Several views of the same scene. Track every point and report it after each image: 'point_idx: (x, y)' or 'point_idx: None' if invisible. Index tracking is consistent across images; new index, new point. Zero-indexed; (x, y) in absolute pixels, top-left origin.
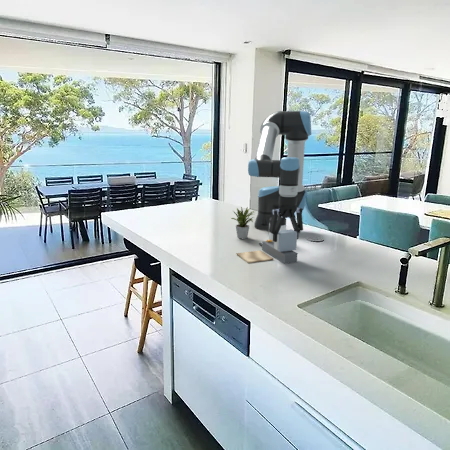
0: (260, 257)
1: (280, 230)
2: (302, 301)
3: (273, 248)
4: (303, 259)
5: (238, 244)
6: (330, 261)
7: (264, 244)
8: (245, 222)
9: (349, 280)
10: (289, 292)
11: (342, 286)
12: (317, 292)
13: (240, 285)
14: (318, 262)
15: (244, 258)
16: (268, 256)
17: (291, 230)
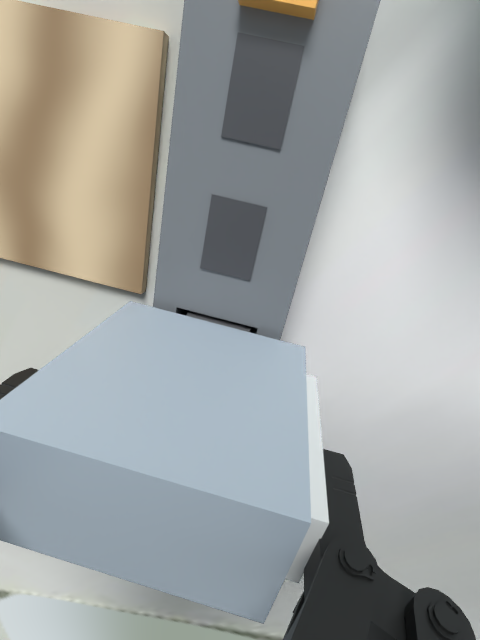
0: (66, 219)
1: (73, 453)
2: (21, 591)
3: (160, 252)
4: (337, 399)
5: None
6: (446, 507)
7: (190, 15)
8: None
9: (276, 623)
10: (13, 549)
11: (207, 623)
12: (97, 594)
13: None
14: (367, 477)
15: None
16: (134, 237)
17: (248, 554)
